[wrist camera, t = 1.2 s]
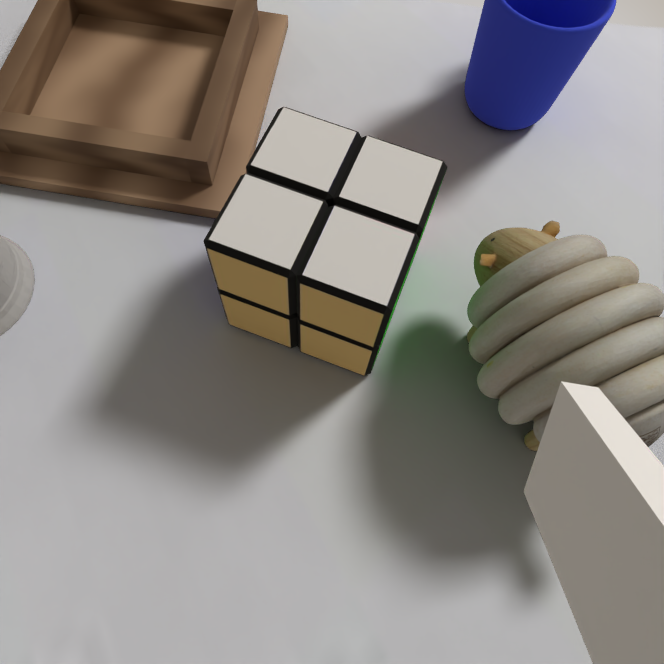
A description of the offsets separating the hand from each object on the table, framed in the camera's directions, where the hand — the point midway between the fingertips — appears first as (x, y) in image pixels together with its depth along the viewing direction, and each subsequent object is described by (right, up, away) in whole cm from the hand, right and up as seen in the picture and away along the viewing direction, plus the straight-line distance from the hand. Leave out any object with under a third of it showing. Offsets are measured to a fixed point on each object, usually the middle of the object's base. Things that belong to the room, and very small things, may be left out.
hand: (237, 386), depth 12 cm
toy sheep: (+14, -2, +24) cm, 28 cm away
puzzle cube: (+1, +4, +26) cm, 27 cm away
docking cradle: (-13, +20, +32) cm, 40 cm away
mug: (+16, +21, +34) cm, 44 cm away
